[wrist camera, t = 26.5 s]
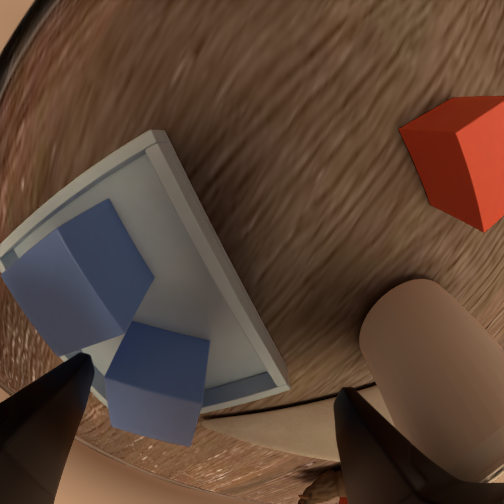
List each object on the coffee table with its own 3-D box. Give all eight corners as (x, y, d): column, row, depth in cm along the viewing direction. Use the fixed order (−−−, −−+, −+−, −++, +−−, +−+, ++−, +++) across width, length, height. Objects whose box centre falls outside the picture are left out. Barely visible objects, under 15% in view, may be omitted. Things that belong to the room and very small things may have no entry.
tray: (10, 240, 13) (-10, 253, 11) (164, 129, 12) (150, 128, 10) (133, 405, 18) (127, 425, 17) (286, 365, 17) (290, 389, 15)
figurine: (292, 517, 19) (410, 481, 17) (283, 482, 22) (399, 445, 20) (303, 507, 23) (401, 476, 22) (295, 477, 27) (392, 446, 25)
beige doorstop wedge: (222, 470, 22) (446, 457, 18) (192, 482, 15) (486, 460, 11) (231, 378, 28) (443, 367, 23) (206, 360, 21) (480, 343, 17)
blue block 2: (130, 372, 16) (110, 426, 12) (131, 319, 15) (103, 377, 10) (198, 389, 17) (190, 447, 13) (211, 339, 15) (202, 403, 11)
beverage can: (379, 370, 18) (442, 515, 7) (335, 320, 16) (414, 521, 5) (450, 315, 16) (546, 438, 5) (422, 250, 14) (572, 397, 3)
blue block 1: (93, 306, 14) (57, 357, 10) (51, 237, 13) (-1, 274, 9) (155, 277, 14) (125, 334, 10) (109, 197, 12) (56, 227, 8)
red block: (397, 129, 12) (455, 132, 8) (452, 97, 11) (510, 95, 7) (430, 205, 13) (484, 233, 9) (479, 168, 12) (533, 185, 8)
